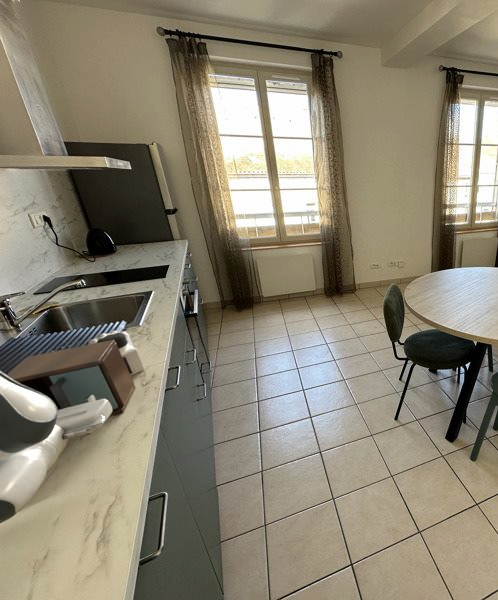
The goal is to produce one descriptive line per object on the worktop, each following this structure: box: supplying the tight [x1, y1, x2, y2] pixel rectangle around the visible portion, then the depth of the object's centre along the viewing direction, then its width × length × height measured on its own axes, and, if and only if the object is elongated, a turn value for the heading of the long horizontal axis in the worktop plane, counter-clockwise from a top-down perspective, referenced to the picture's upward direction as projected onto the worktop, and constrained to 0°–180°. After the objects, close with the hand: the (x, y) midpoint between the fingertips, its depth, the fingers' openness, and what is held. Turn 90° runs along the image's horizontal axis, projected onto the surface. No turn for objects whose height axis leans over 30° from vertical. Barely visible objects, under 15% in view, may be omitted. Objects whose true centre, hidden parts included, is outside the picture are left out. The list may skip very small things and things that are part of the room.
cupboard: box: [6, 340, 137, 418], centre depth 84 cm, size 18×12×16 cm, turn 114°
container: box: [97, 333, 145, 377], centre depth 100 cm, size 8×8×13 cm
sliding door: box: [49, 365, 118, 409], centre depth 79 cm, size 9×5×13 cm, turn 114°
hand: (65, 404), depth 77 cm, fingers open, 8 cm apart
